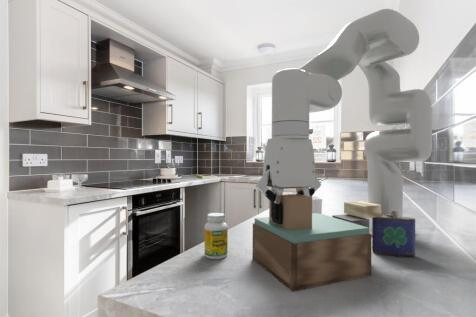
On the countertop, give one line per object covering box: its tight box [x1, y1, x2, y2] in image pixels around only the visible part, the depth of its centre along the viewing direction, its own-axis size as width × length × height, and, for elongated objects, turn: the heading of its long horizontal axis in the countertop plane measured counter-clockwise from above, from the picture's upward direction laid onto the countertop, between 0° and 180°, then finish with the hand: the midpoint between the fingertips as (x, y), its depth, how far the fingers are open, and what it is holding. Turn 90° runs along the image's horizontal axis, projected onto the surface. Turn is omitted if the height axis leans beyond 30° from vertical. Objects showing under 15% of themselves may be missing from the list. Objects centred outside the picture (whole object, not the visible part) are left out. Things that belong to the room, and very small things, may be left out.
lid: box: [254, 191, 369, 244], centre depth 57 cm, size 17×15×7 cm
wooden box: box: [251, 213, 372, 292], centre depth 57 cm, size 23×16×10 cm
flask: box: [371, 210, 416, 258], centre depth 64 cm, size 9×3×11 cm, turn 74°
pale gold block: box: [343, 200, 381, 219], centre depth 62 cm, size 5×6×3 cm
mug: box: [312, 195, 323, 214], centre depth 86 cm, size 11×9×10 cm
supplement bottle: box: [204, 212, 229, 260], centre depth 63 cm, size 5×5×10 cm
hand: (289, 220), depth 55 cm, fingers closed on lid, 5 cm apart
